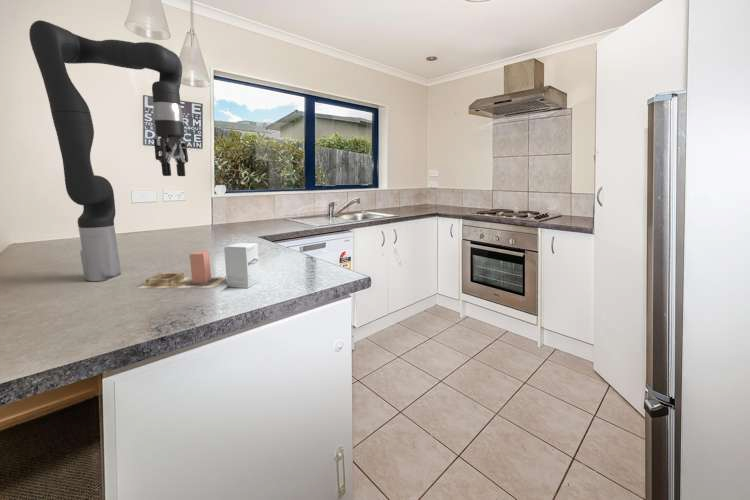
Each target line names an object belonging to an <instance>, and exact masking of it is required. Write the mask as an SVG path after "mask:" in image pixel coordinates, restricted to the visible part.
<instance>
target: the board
mask: <svg viewBox="0 0 750 500" xmlns="http://www.w3.org/2000/svg"><path fill="white" fill-rule="evenodd" d="M225 280H227V279H226V276H225V277H223V276H222V277H221V276H220V277H212V276H211V280H210V281H208V282H207V283H192V277H185V272H159V273H157V274H155V275H152V276H151V277H148V278H146V279H145V283H144V284H142V285H140V286H137V289H188V288H189V289H192V288H193V289H199V288H200V289H202V288H203V289H204V288H205V289H207V288H208V289H211V288H215V287H216V286H217V285H219V284H220V283H222V282H223V281H225Z"/></svg>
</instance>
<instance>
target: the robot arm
mask: <svg viewBox="0 0 750 500" xmlns="http://www.w3.org/2000/svg"><path fill="white" fill-rule="evenodd" d="M29 42H30V46H31V49H32V52H33V55H34V57H35V60H36V63H37V65H38V69H39V71H40V74H41V77H42V80H43V84H44V87H45V92H46V95H47V98H48V104H49V107H50V113H51V117H52V122H53V126H54V128H55V133H56V136H57V137H56V138H57V141H58V146H59V150H60V153H61V154H60V155H61V159H62V165H63V166H62V167H63V173H64V174H63V175H64V185H65V190H66V193H67V195H68V197H69V198H70V200H71V201H72V202H73V203H74V204H77V205H79V206H82V207H83V209H82V213H81V215H80V216H79V217H78V218H77V227H78V232H79V239H80V240H79V241H80V247H81V249H80V251H79V252H80V260H81V265H82V273H83V278H84V280H86V281H89V282H100V281H101V282H102V281H108V280H111V279H113V278H116V277H118V276H120V275H122V271H121V263H120V257H119V255H120V254H119V249H118V243H117V236H116V235H117V234H116V229H115V218H116V204H115V201H116V200H115V193H114V188H113V185H112V183H111V182H110V181H109V180H108V179H107V178H106V177H104V176H101V175H96V174H95V173H94V170H93V167H92V161H91V152H92V146H93V142H94V138H95V130H94V122H93V118H92V114H91V111H90V107H89V105H88V104H87V102H86V101H85V99H84V97H83V96H82V95H81V93H80V92H79V90H78V89H77V88H76V86H75V85H74V82H73V81H72V80H71V78H70V76H69V73H68V70H67V68H66V67H67V66H66V64H68V65H69V64H71V65H73V64H75V65H76V64H78V65H79V64H100V65H101V64H103V65H108V66H113V67H119V68H124V69H132V70H144V69H147V70H152V71H155V72H157V73H159V77H158V78H159V79H158V81H154V82H153V83H152V86H151V92H152V93H151V94H152V101H153V109H152V110H153V118H154V119H153V120H154V121H153V122H154V130H155V135H156V136H157V137H159V138H156V137H155V138H154V139H153V141H154V142H153V143H154V156H155V160H156V161H159V163H160V166H161V173H162V176H163V177H171V176H172V169H171V168H172V167H171V163H170V162H171V159H173V160H174V161H175V163H176V164H175V165H176V174H177V177H186V167H185V165H186V163H189V157H188V155H189V154H188V147H187V143H186V142H181V139H182V138H185V127H184V125H185V124H184V115H183V110H182V106H181V104H182V103H181V95H180V89H181V84H182V77H183V67H182V66H183V65H182V61H181V59H180V57H179V56H178V55H177V54H176V53H175V52H174V51H172V50H171V49H169V48H167V47H165V46H164V45H161V44H158V43H156V42H155V43H154V42H150V41H144V42H143V41H142V42H141V41H140V42H133V41H127V40H120V39H119V40H118V39H103V40H94V39H90V38H87V37H84V36H81V35H78V34H75V33H73V32H71V31H70V30H68V29H66V28H63V27H61V26H58V25H57V24H53V23H51V22H50V21H45V20H42V19H41V20H39V19H38V20H35V21H33V22H32V23H31V26H30V28H29Z"/></svg>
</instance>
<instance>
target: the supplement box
mask: <svg viewBox="0 0 750 500" xmlns="http://www.w3.org/2000/svg"><path fill="white" fill-rule="evenodd" d="M223 248H224V249H223V250H224V260H225V261H224V263H225V275H226V276H225V277H226V279H225V280H226V284H227V285H226V288H227V287H228V288H240V289H249V288H250V287H252V286H254V285H256V284H258V283H259V282H261V281H260V280H261V278H260V261H259V244H258V243H255V242H253V243H252V242H236V243H233V244H229V245H227V246H224V247H223Z"/></svg>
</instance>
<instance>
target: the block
mask: <svg viewBox="0 0 750 500" xmlns="http://www.w3.org/2000/svg"><path fill="white" fill-rule="evenodd" d="M189 261H190V263H189V264H190V270H191V271H190V272H191V278H192V283H207V282H208V281H210V280H211V277H212V272H211V262H210V261H211V260H210V252H209V251H199V250H198V251H194V252H191V253H189Z"/></svg>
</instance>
